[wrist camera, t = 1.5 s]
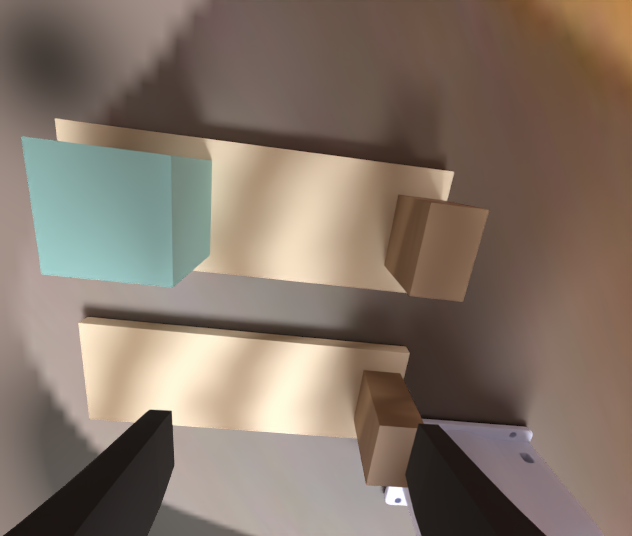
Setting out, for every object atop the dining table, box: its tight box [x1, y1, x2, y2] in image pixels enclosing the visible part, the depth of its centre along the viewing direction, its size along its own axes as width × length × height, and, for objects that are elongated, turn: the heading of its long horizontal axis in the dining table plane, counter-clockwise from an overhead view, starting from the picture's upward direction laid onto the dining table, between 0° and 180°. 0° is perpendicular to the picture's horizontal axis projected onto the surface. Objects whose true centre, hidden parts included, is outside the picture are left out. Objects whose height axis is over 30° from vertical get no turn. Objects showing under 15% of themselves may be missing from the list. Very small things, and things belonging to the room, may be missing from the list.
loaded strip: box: [55, 119, 489, 302], centre depth 15 cm, size 20×7×5 cm, turn 83°
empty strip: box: [78, 317, 424, 488], centre depth 18 cm, size 20×7×5 cm, turn 83°
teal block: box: [21, 136, 212, 288], centre depth 14 cm, size 5×5×5 cm
